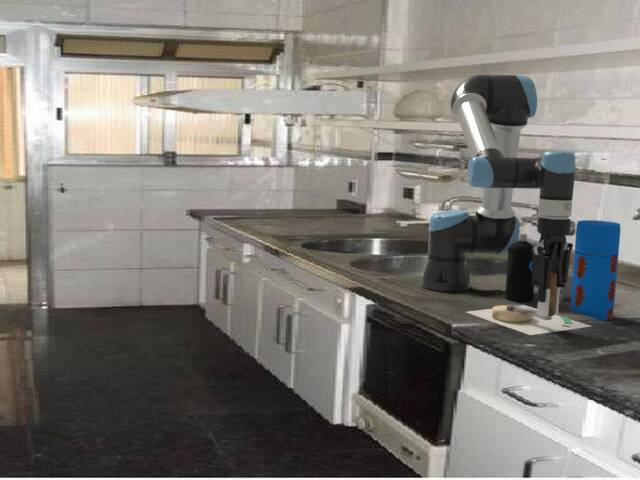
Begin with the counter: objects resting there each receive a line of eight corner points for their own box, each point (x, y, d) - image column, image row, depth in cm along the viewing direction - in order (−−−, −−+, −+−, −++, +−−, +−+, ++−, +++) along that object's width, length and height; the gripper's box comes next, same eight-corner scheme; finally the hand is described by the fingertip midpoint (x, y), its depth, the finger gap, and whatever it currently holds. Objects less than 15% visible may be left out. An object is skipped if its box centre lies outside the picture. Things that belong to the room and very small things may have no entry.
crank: (483, 315, 197) (486, 264, 195) (511, 310, 203) (514, 261, 201) (537, 331, 183) (541, 276, 181) (565, 326, 189) (569, 273, 187)
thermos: (561, 313, 209) (568, 221, 205) (588, 309, 214) (595, 219, 210) (594, 322, 200) (602, 226, 196) (621, 318, 205) (629, 224, 201)
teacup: (587, 295, 232) (589, 269, 231) (601, 303, 221) (603, 276, 220) (541, 294, 232) (542, 268, 230) (553, 303, 221) (555, 275, 220)
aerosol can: (505, 306, 215) (509, 235, 212) (502, 300, 223) (506, 231, 220) (535, 308, 214) (540, 236, 211) (531, 301, 222) (536, 232, 219)
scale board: (464, 317, 202) (465, 311, 202) (526, 309, 212) (527, 303, 212) (531, 341, 181) (531, 334, 180) (596, 331, 191) (597, 325, 190)
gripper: (547, 220, 175) (539, 321, 179) (588, 217, 185) (580, 313, 189) (520, 217, 181) (513, 315, 185) (561, 214, 191) (554, 307, 194)
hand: (547, 313), depth 187 cm, fingers closed on crank, 3 cm apart
